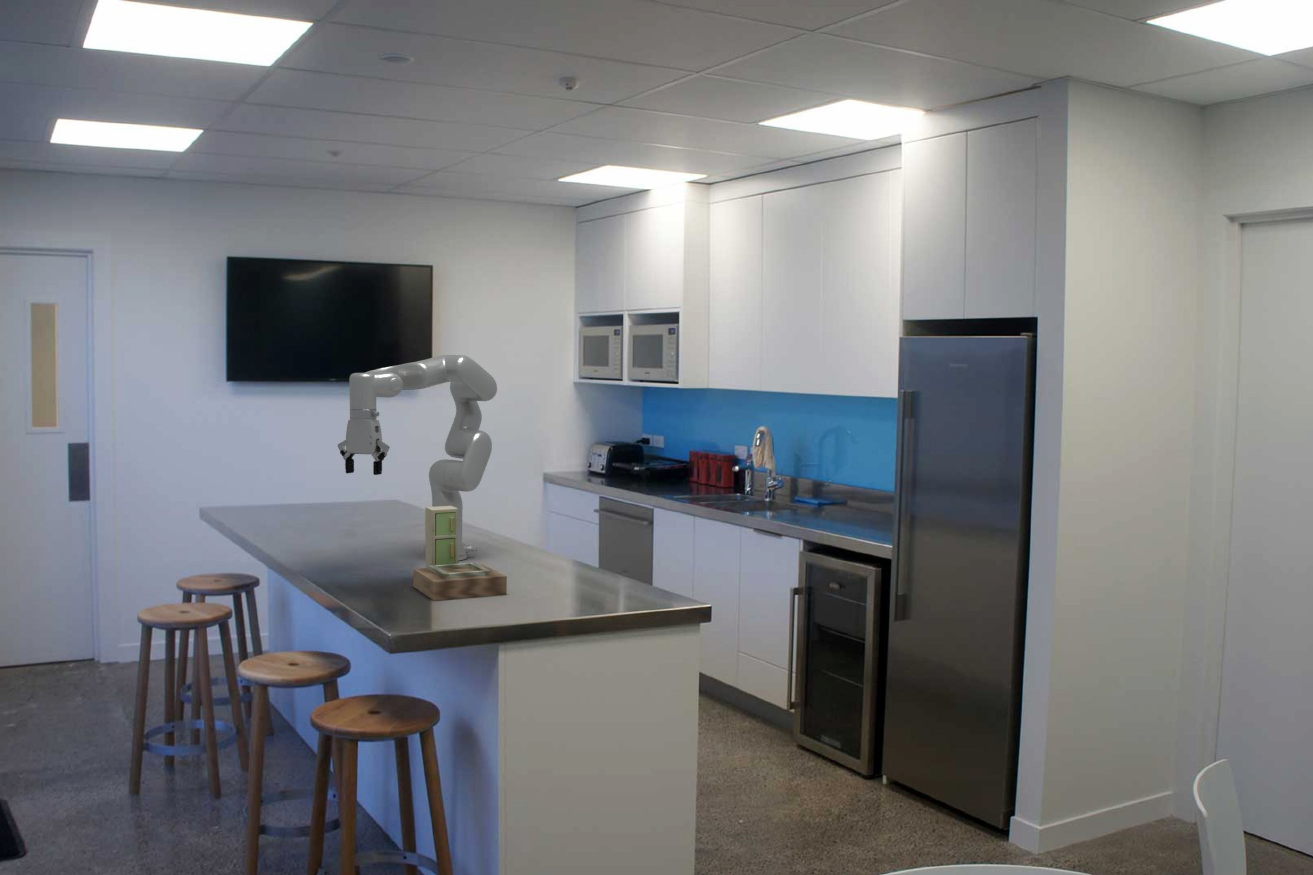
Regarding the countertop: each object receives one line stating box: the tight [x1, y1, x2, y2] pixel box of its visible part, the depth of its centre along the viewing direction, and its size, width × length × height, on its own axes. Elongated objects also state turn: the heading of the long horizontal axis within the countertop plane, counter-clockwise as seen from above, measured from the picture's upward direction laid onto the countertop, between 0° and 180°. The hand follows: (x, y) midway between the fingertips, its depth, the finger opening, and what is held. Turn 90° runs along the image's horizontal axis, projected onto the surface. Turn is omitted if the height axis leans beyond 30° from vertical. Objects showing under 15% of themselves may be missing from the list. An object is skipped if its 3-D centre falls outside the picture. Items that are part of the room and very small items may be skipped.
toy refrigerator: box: [424, 506, 459, 568], centre depth 320 cm, size 8×7×21 cm
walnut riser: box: [412, 562, 508, 602], centre depth 306 cm, size 20×20×6 cm
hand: (363, 473), depth 327 cm, fingers open, 9 cm apart
